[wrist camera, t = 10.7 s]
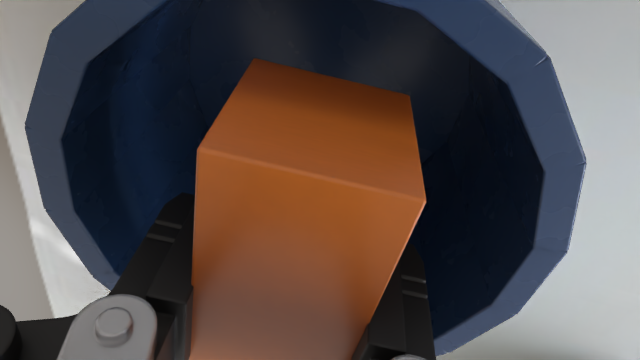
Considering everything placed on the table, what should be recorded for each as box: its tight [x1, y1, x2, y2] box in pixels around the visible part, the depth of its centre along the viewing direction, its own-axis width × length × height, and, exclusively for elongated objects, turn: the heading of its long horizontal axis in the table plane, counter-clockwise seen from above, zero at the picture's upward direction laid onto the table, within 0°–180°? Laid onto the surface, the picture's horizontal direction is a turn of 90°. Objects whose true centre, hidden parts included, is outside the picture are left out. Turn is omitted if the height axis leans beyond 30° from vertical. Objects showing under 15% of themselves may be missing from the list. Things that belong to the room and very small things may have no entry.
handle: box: [189, 58, 426, 360], centre depth 9 cm, size 8×3×3 cm, turn 168°
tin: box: [25, 0, 586, 356], centre depth 14 cm, size 13×13×9 cm
